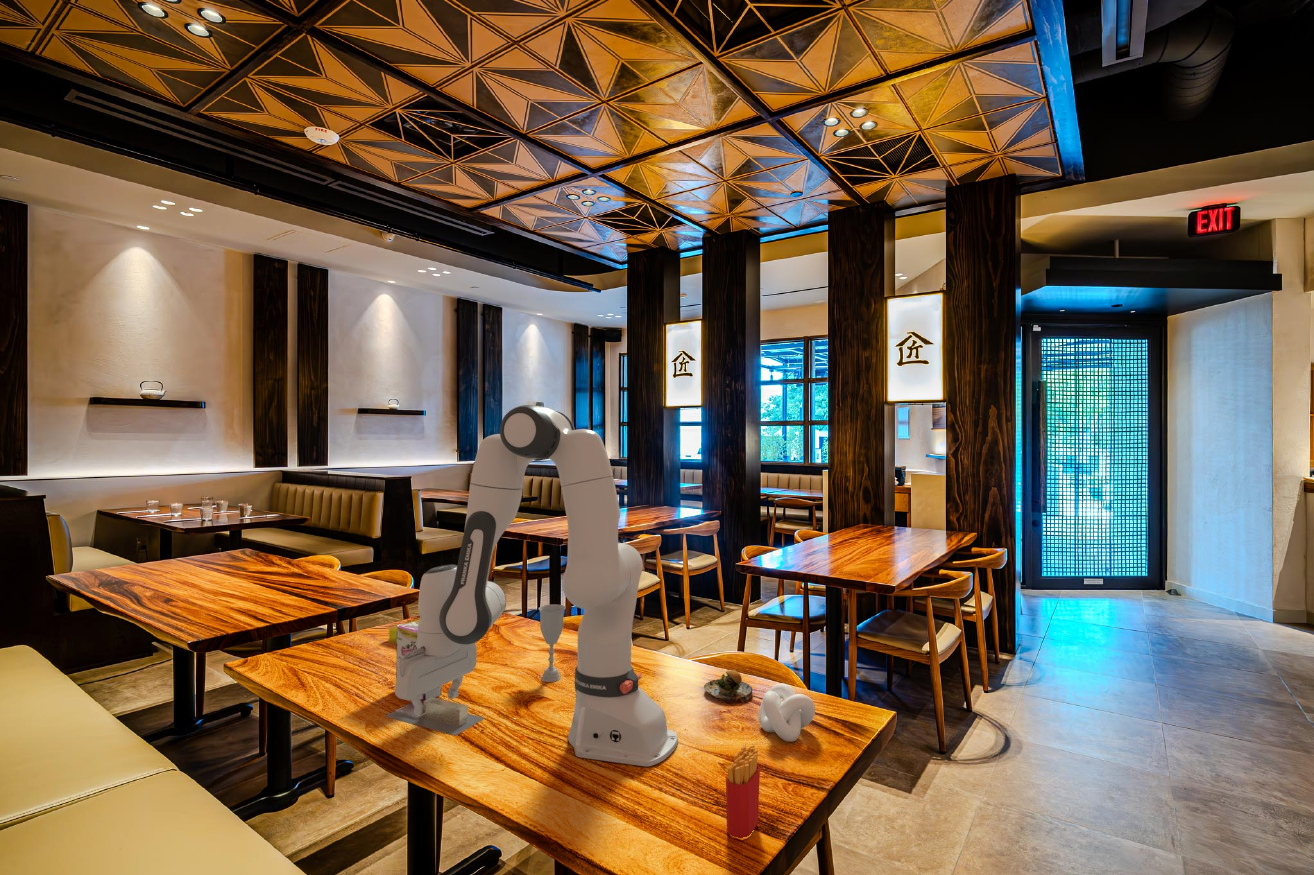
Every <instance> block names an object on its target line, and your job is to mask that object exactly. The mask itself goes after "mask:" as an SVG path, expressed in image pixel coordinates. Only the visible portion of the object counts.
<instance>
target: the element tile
mask: <svg viewBox="0 0 1314 875" xmlns="http://www.w3.org/2000/svg"><path fill="white" fill-rule="evenodd" d="M419 621H420V618H419V619H415V620H412V621H408V622H404V623H400V624H397V625H393V626H390V627H389V628H388V630H389V631H388V632H389V633H388V642H389V643H391V644H395V645H397V627H398V626H400V625H404V624H408V623H412V622H415V623H418V624H419Z"/></svg>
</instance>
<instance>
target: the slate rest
mask: <svg viewBox="0 0 1314 875" xmlns="http://www.w3.org/2000/svg"><path fill="white" fill-rule="evenodd" d="M421 703H422V704H424V701H421ZM384 717H386V718H389V719H393V720H396V721H400V722H404V723H408V724H411V725H415V726H419V727H422V728H426V729H430V730H433V731H437V732H441V733H445V734H447V735H452V736H455V737H457V735H459V734H461V733H464V732H465V731H466V730H468V729H470V728H471V727H473V726H475V725H476V724H478V723H480V722H482V721H483V720H484V719H486V717H483V716H479V715H475V714H471V713H468V719H467V723H465V724H463V725H462V726H460V727H458V726H454V725H450V724H447V723H443V722H439V721H435V720H431V719H428V718H424V717H423V718H421V719H419V720H418V719H414V718H410V717H406V716H403V715H399V714H395V710H394V711H392V712H390V713H387V714H386V715H384Z"/></svg>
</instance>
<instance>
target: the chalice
mask: <svg viewBox="0 0 1314 875" xmlns="http://www.w3.org/2000/svg"><path fill="white" fill-rule="evenodd" d="M565 610H566V606H565V605H562V604H555V603H554V604H552V603H551V604H545V605H541V606H540V607H538V611H539V613H540V616H539V617H540V620H539V621H540V626H539V627H540V628H539V629H540V631H541V635H542V637H543V639H544V642H545V644H547V645H549V650H548V651H547V652H548V654H549V657H548V659H547V660H548V663H549V665H548V667H546V668H545V669H544V671H543V673H542V676H541V678H540V680H541V681H542V682H545V683H546V682H547V683H553V682H558V681H560V680H561V678H562V677H561V675H560V672H559V670H558V668H556V667H555V666H554V661H555V658H554V653H555V650H554V645H555V644H557V643H558V641H559V639H560V637H561V634H562V632H563V628H564V612H565Z"/></svg>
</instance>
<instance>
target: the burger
mask: <svg viewBox="0 0 1314 875" xmlns="http://www.w3.org/2000/svg"><path fill="white" fill-rule="evenodd" d="M739 666H740V665H738V667H737V668H739ZM725 673H726V675H725ZM725 673H723V674H722V675H721V677H720V678H718V679H713V680H710V681H708V682H706V683H705V684H704V686H703V688H704V690H705V692H707V693H708V694H709V695H711V696H713V697H714V698H717V699H721V700H725V701H726V703H727V704H728V705H729V704H730V705H733V704H737V701H738V700H739V701H741V703H744V702H745V703H746V702H749V699H751V698H752V699H753V696H752V695H753V694H754V693H753V687H752V686H751V685H750V684H749V683H747V682H744V681H743V678H742V675H741V673H739V671H738V670H736V669H735V670H734V669H728V670H726V671H725ZM727 704H726V705H727Z"/></svg>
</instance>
